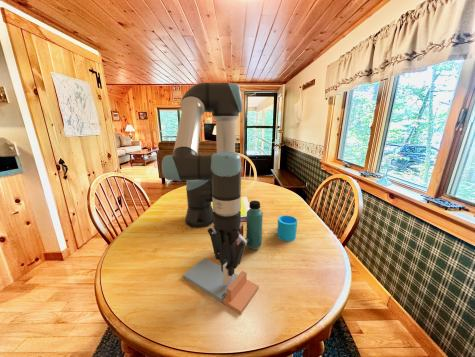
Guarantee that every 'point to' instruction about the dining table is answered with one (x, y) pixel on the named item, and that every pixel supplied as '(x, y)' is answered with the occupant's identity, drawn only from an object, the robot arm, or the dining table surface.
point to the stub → (240, 293)
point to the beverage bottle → (254, 225)
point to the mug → (287, 228)
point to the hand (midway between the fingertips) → (227, 281)
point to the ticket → (208, 278)
